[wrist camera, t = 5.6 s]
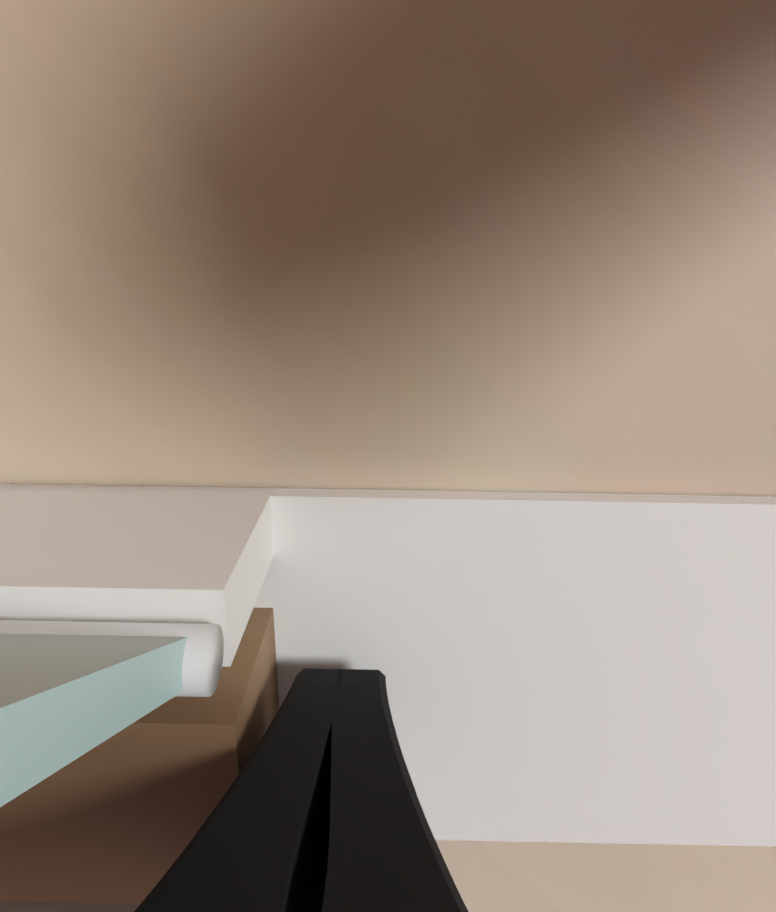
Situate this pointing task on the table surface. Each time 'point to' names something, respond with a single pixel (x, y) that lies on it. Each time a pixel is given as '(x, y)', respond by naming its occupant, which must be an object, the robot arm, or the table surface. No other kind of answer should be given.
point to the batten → (140, 789)
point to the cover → (90, 686)
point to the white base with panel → (466, 636)
